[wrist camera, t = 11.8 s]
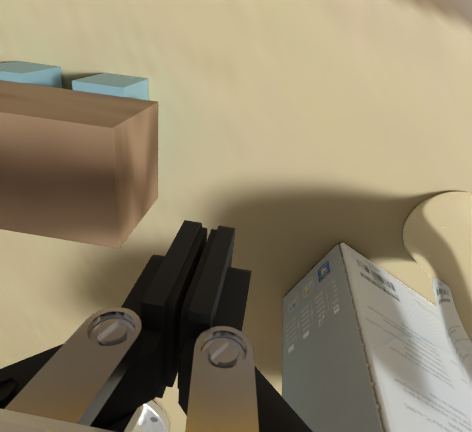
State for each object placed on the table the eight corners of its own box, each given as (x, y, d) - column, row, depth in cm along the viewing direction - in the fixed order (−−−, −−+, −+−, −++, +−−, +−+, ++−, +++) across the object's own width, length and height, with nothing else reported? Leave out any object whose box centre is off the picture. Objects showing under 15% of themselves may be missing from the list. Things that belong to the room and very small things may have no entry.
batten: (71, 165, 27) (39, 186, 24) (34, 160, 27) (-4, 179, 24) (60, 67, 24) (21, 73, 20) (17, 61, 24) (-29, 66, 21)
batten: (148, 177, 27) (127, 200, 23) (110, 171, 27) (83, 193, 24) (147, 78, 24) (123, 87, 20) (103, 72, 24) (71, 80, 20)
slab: (157, 197, 23) (118, 248, 18) (-19, 170, 24) (-107, 211, 18) (158, 101, 20) (112, 128, 15) (-43, 74, 21) (-155, 89, 16)
